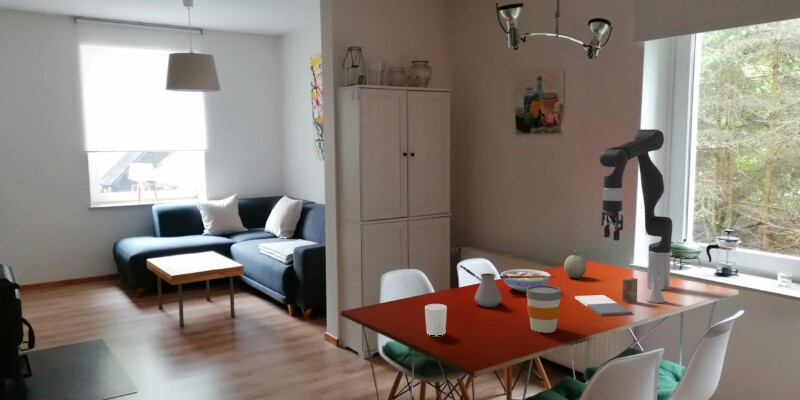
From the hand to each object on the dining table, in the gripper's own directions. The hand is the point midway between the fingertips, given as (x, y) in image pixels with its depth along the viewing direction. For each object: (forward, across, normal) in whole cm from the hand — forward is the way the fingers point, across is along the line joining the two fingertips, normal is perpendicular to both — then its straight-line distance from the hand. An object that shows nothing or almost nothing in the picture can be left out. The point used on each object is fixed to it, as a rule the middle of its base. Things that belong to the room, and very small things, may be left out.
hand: (611, 238), depth 245 cm
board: (+29, +4, +1) cm, 29 cm away
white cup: (+30, -20, +76) cm, 84 cm away
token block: (+29, +8, -13) cm, 32 cm away
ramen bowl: (+29, +35, +24) cm, 52 cm away
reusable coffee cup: (+30, -21, +36) cm, 51 cm away
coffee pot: (+30, +18, +50) cm, 61 cm away
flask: (+29, +7, -24) cm, 38 cm away
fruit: (+28, +54, -8) cm, 61 cm away
